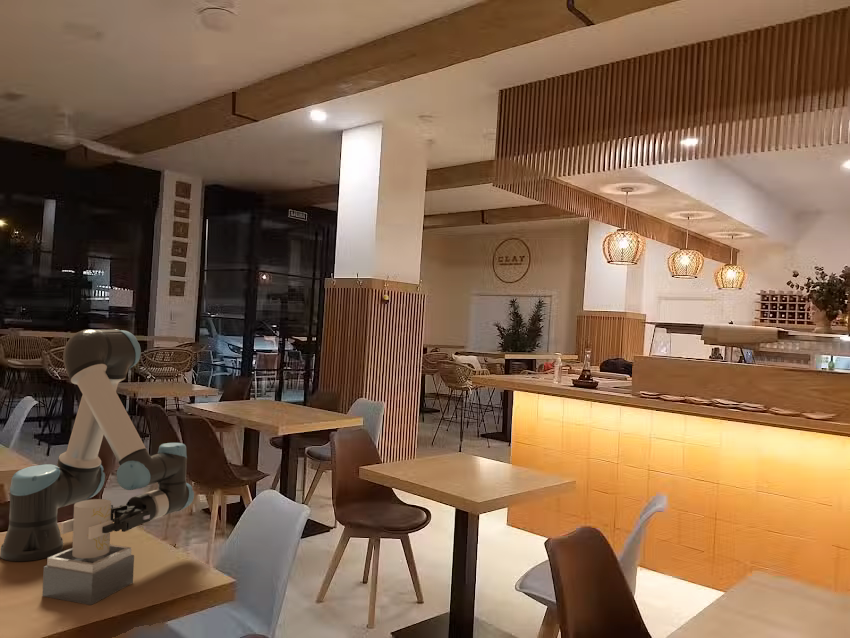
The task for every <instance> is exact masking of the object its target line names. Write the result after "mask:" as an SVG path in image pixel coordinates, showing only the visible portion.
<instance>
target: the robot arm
mask: <svg viewBox="0 0 850 638" xmlns="http://www.w3.org/2000/svg"><path fill="white" fill-rule="evenodd" d="M141 351H142V349H141V346H140V343H139V342H138V339H137V337H136V336H135V335H134V334H133V333H131V332H130V331H128V330H124V329H123V330H122V329H121V330H120V329H116V328H113V329H83V330H80V331H78V332H75V333H74V334H73V335H72V336H70V337H69V339H68V341H67V342H66V343H65V346H64V349H63V353H62V354H63V355H62V359H63V365H64V369H65V372H66V374H67V377H68V378H69V381H70V383H72V384H74V385H77V387H78V388H79V390H80V392H81V394H82V396H81V398H80V401H79V406H78V409H77V413H76V416H75V420H74V424H73V428H72V429H71V434H70V438H69V441H68V445H67V449H66V451H64V452H63V453H60V454H59V457H58V459H57V463H56V465H55V464H51V463H47V464H46V463H45V464H38V465H31V466H28V467H25V468H22V469H19V470H18V471H16V472H15V473H14V474H12V477H11V482H10V483H11V484H10V487H9V492H10V493H9V516H8V520H9V521H8V529H7V532H6V534H5V537H4V540H3V543H2V544H1V546H0V559H2V560H4V561H8V562H31V561H38V560H42V559H48V557H51V556H53V555H56V554H58V553H61V552H63V550H64V549H63V548H64V540H63V537H62V536H61V535H64V534H68V533H71V532H73V521H74V518H72V519H68V520H65V521H61V522H60V527H59V525H58V509H60V508H63V507H66V506H67V507H68V506H69V505H74V504H75V503H77V502H80V501H85V500H90V499H92V498H93V497H94V496H96V495H98V493H100V492H101V490H102V488H103V486H104V483H105V481H106V478H105V477H106V474H105V472H104V466H103V465H102V460H101V458H100V457H99V452H100V449H101V445H102V441H103V438H105V440H106V441H107V443H108V445H109V447H110V449H111V451H112V452H113V455H114V457H115V458H116V461H117V462H118V464H119V467H117V470H116V474H115V475H116V481H117V483H118V485H119V486H120V487H121V488H123V489H124V490H127V491H133V490H139V489H143V488H145V487H148V486H150V485H154V484H157V489H154V490H150V491H146V492H144V493H141V494H138V495H134V496H132V497H130V498H129V499H128V501H127V502H126V504H121V505H119V506H115V507H114V504H111V520H110V521H107V522H104V523H101V524H98V525H95V526H92V527H89V534H88V539H93V538H96V537H99V536H102V535H105V534H107V533H110V534H111V533H113V532H119V531H120V530H121V532H123V533H124V532H128V531H130V530H133V529H134V528H136V527H137V526H140V525H143V524H145V523H148V522H150V521H153V522H154V521H156V519H159V518H161V517H164V516H167V515H169V514H174V513H175V512H176V513H177V512H180V511H182V510H184V509H186V508H188V507H189V506H190V505H192V503H193V501H194V498H195V492H194V490H193V486H192V485H191V484H190V483H188V482H187V463H188V456H187V446H186V444H185V443H182V442H167V443H161V444H160V445H159V447H158V451H157V453H156V454H152V455H150V453H149V451H148V450H147V448H146V446H145V443H144V442H143V440H142V439H141V437H140V434H139V433H138V431H137V429H136V427H135V425H134V423H133V421H132V420H131V418H130V416H129V413H128V412H127V410H126V409H125V406H124V405H123V403H122V401H121V399H120V397H119V394H118V393H117V390H118V386H119V384H120V382H122V381H124V380H126V379H127V374H128V371H129V369H131V368H133V367H134V366H136V365H137V364H138V363H139V362H140V359H141V354H142V352H141Z"/></svg>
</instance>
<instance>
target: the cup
mask: <svg viewBox="0 0 850 638" xmlns="http://www.w3.org/2000/svg"><path fill="white" fill-rule="evenodd" d="M111 505H112V501H111V500H109V499H106V498H105V499H104V498H98V499H97V498H93V499H92V498H91V499H87V500H85V501H80V502H76V503H73V519H74V521H73V531H72V547H71V548H72V556H73V557H76V558H94V557H99V556H102V555H105V554H107V553H108V552H109V548H110V544H111V543H110V541H111V532H110V533H107V534H105V535H102V536H99V537H96V538H93V539H88V534H89V527H92V526H95V525H98V524H101V523H104V522H107V521H110V520H111Z"/></svg>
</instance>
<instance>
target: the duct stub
mask: <svg viewBox="0 0 850 638" xmlns="http://www.w3.org/2000/svg"><path fill="white" fill-rule="evenodd" d="M72 548H73V547H71V548H68V549H66V550H62V551H61V552H59V553H58V554H55V555H53V556H50V557H47V558H46V559H47V563H46V565H45V566H43V578H42V597H46V598H51V599H56V600H60V601H61V600H62V601H66V602H73V603H78V604H83V605H88V606H92V605H94V604H96V603H98V602H100V601H101V599H102V600H103V599H105V598H107V597H109V596H111V595H113V594H115V593H117V592H119V591H121V590H122V589H124V588H126V587H128V586H130V585H132V584H133V583H134V571H135V570H134V568H135V566H134V565H135V554H132V547H130V546H124V545H117V544H111V543H110V548H109V552H108V553H107V554H105V555H102V556H99V557H94V558H76V557H73V556H72Z"/></svg>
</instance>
